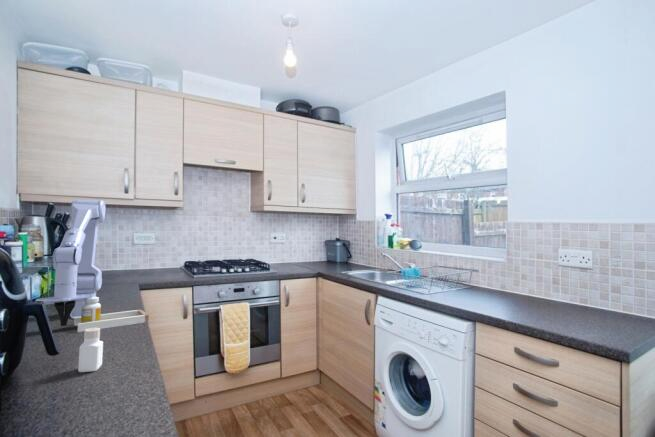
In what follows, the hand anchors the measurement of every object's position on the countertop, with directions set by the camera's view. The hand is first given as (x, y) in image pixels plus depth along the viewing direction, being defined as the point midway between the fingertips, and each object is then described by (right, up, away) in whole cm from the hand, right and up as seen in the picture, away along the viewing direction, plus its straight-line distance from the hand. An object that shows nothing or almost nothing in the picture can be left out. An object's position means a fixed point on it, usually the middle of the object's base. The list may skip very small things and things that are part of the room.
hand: (63, 325), depth 110 cm
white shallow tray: (+10, -2, +9) cm, 14 cm away
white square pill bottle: (+29, -2, -29) cm, 41 cm away
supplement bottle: (+5, -2, +5) cm, 8 cm away
